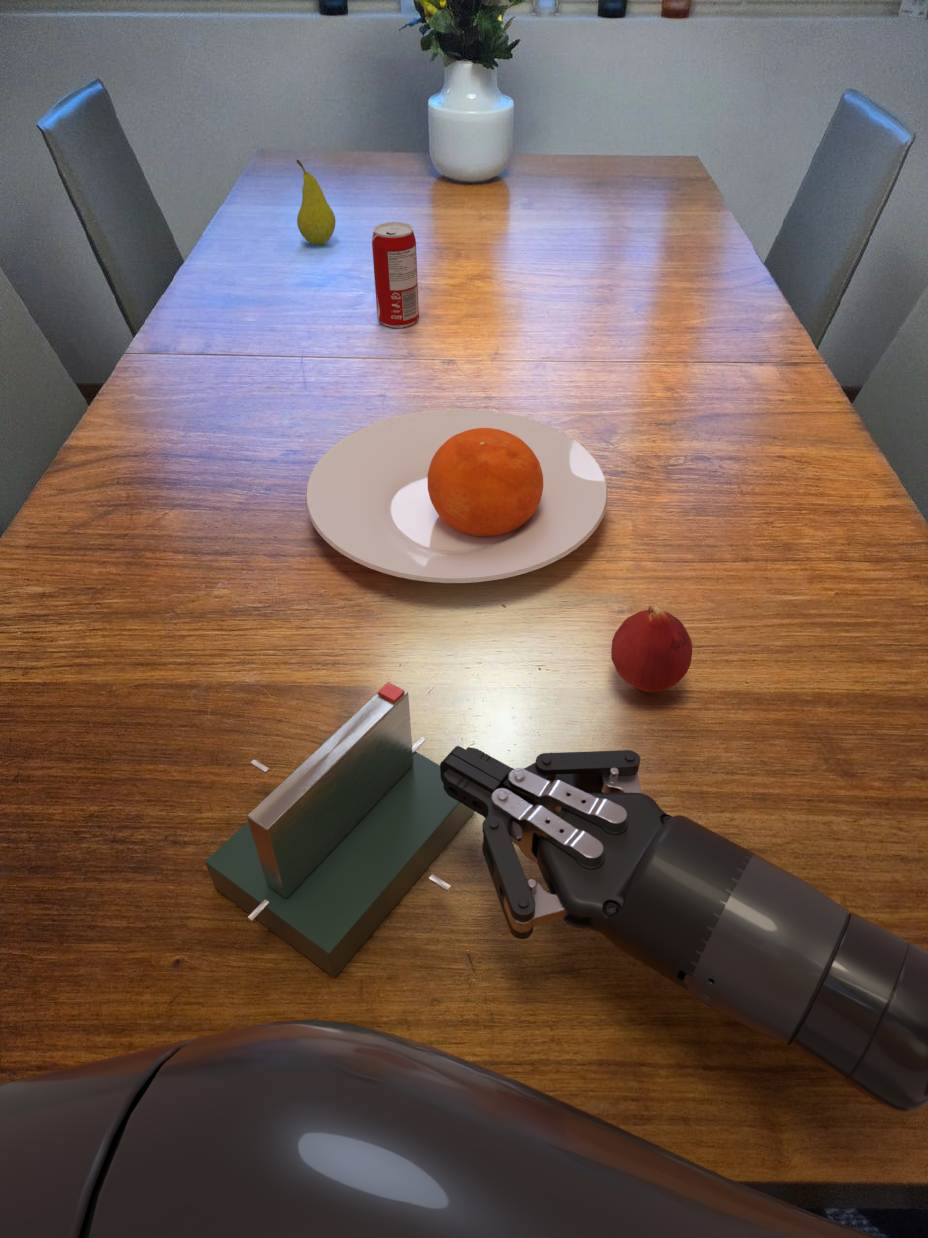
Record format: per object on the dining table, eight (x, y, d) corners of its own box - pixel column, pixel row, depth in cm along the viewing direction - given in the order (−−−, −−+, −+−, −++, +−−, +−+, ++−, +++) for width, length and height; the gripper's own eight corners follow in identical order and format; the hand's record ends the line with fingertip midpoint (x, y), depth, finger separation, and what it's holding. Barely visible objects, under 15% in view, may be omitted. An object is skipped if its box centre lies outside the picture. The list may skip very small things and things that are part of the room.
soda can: (388, 309, 119) (382, 216, 111) (425, 315, 117) (422, 221, 109) (370, 325, 115) (363, 230, 107) (408, 331, 113) (404, 236, 105)
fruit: (340, 248, 136) (332, 164, 128) (303, 252, 135) (292, 167, 126) (334, 235, 140) (325, 153, 132) (297, 239, 139) (286, 156, 131)
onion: (668, 655, 69) (685, 577, 64) (694, 708, 65) (715, 630, 60) (597, 664, 69) (608, 586, 63) (619, 719, 64) (633, 640, 59)
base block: (363, 1027, 48) (358, 1001, 46) (167, 875, 55) (155, 847, 53) (522, 823, 58) (524, 794, 56) (338, 716, 65) (334, 687, 63)
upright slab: (286, 899, 50) (266, 827, 46) (266, 885, 51) (244, 812, 46) (413, 764, 58) (408, 689, 53) (395, 753, 58) (388, 678, 53)
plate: (247, 530, 82) (230, 451, 76) (434, 410, 98) (431, 337, 92) (489, 658, 69) (490, 574, 63) (657, 496, 86) (670, 418, 80)
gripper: (794, 790, 45) (512, 652, 52) (682, 999, 37) (368, 801, 44) (761, 870, 50) (508, 733, 57) (656, 1068, 42) (379, 880, 49)
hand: (447, 763), depth 51 cm, fingers closed
